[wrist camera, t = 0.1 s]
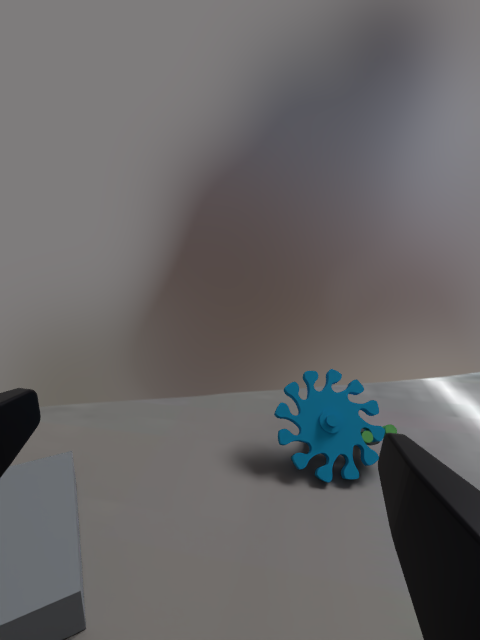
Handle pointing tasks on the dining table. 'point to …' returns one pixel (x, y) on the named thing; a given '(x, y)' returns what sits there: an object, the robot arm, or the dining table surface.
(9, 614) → the dock unit
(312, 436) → the gear
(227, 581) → the dining table surface
